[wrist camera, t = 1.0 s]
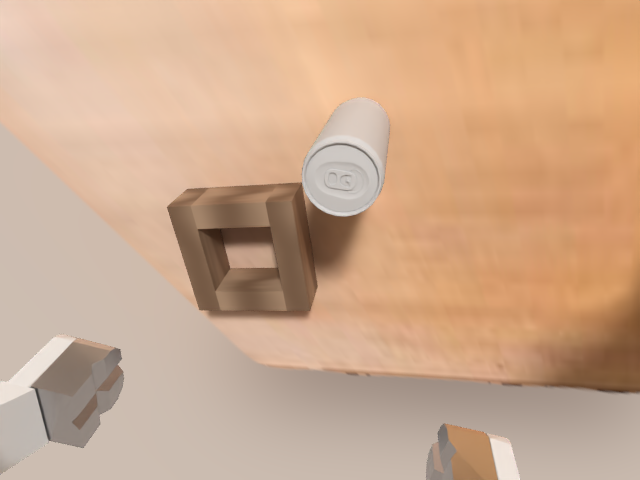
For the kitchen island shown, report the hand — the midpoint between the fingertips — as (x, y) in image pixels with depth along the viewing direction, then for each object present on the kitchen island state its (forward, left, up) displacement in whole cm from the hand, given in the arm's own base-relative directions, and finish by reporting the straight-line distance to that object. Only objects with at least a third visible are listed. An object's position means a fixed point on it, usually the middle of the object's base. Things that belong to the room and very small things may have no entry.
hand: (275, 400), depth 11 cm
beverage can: (0, 0, -28) cm, 28 cm away
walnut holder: (+11, +10, -28) cm, 32 cm away
